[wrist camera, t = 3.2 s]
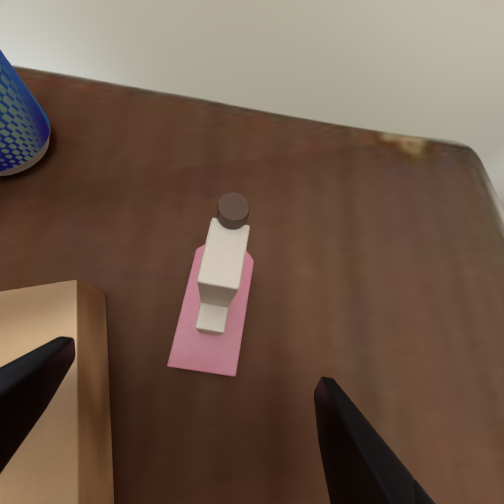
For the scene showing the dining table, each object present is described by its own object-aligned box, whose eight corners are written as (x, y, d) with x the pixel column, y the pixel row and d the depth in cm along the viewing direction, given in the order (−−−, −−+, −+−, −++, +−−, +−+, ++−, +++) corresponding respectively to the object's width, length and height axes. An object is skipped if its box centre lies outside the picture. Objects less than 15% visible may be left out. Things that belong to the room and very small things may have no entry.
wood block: (115, 523, 15) (78, 594, 11) (-75, 592, 13) (-213, 714, 9) (105, 292, 19) (76, 279, 15) (-39, 318, 17) (-120, 310, 13)
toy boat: (232, 372, 19) (276, 430, 6) (172, 363, 18) (96, 406, 6) (252, 247, 22) (306, 131, 10) (203, 237, 22) (196, 103, 10)
